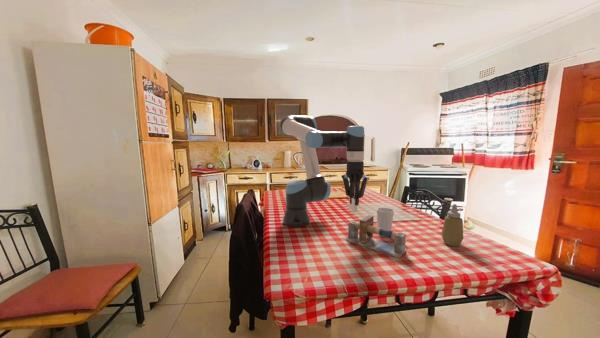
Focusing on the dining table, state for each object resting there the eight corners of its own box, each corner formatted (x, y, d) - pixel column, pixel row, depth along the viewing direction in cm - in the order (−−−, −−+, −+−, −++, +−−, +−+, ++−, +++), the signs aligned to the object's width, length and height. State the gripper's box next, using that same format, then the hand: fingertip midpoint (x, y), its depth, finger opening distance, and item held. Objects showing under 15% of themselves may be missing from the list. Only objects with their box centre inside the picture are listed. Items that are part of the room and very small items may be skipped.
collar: (359, 241, 99) (359, 219, 97) (367, 235, 105) (368, 215, 104) (364, 243, 97) (365, 221, 96) (372, 237, 103) (373, 216, 102)
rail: (345, 240, 104) (346, 222, 102) (354, 234, 109) (354, 218, 108) (399, 258, 88) (400, 237, 87) (406, 250, 93) (407, 231, 92)
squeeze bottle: (459, 241, 102) (462, 202, 100) (465, 249, 94) (469, 208, 92) (438, 238, 105) (441, 201, 103) (443, 246, 97) (446, 206, 95)
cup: (394, 237, 107) (395, 212, 105) (376, 235, 109) (377, 211, 107) (391, 230, 115) (392, 207, 113) (374, 229, 116) (375, 206, 115)
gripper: (338, 160, 103) (337, 210, 105) (364, 162, 94) (363, 216, 96) (346, 159, 108) (346, 207, 111) (372, 160, 99) (371, 212, 102)
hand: (354, 211), depth 104 cm, fingers closed
